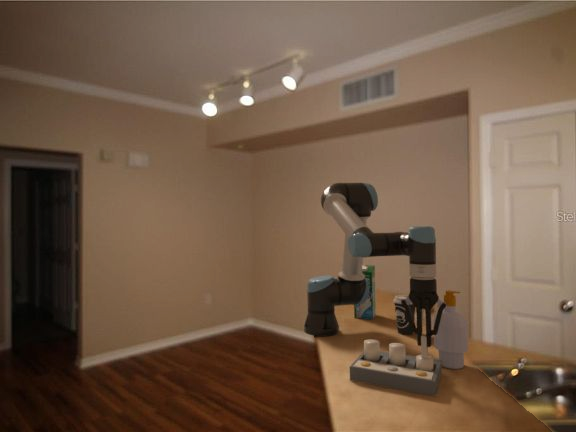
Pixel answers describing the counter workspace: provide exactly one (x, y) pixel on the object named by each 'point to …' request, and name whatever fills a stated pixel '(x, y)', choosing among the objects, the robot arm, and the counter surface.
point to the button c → (424, 363)
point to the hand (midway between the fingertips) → (424, 356)
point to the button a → (371, 350)
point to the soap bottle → (451, 334)
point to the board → (397, 374)
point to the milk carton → (369, 306)
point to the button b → (397, 354)
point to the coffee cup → (403, 315)
